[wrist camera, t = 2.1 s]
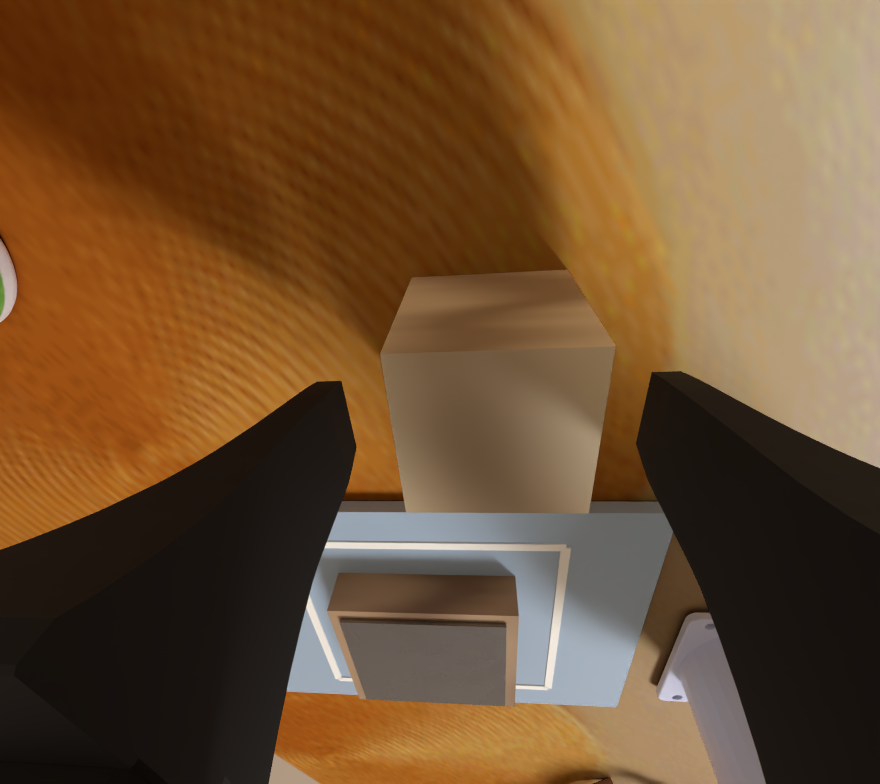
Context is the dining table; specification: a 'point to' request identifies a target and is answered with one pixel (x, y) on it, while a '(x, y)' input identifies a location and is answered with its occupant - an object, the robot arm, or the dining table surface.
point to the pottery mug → (605, 781)
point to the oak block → (497, 393)
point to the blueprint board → (590, 597)
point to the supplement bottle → (6, 283)
